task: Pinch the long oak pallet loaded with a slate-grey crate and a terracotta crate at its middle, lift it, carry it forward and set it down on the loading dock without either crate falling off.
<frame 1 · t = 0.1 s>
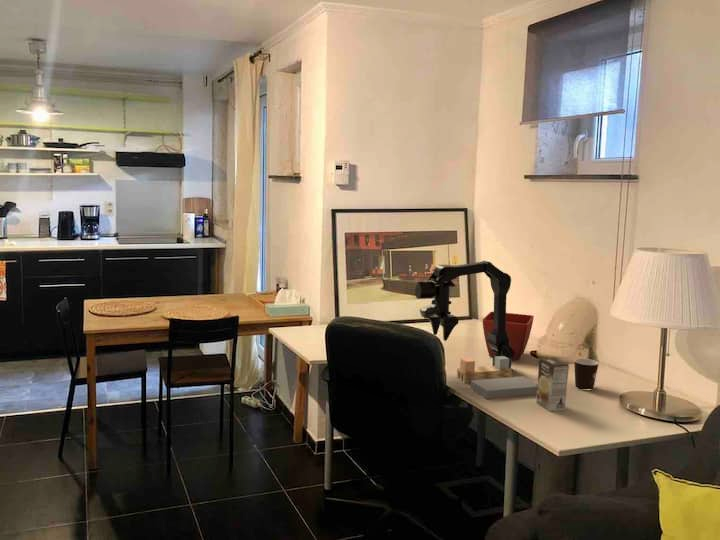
hand: (440, 337, 265), 15 cm above the table, tool pointing down, fingers open, 9 cm apart
plant pot: (506, 355, 298), on the table
coffee mug: (587, 387, 256), on the table
coffee box: (550, 407, 234), on the table
dock: (505, 391, 248), on the table
pallet: (483, 379, 263), on the table, touching grey crate, terracotta crate
terracotta crate: (467, 370, 260), point 4 cm above the table, touching pallet
grey crate: (501, 367, 265), point 4 cm above the table, touching pallet
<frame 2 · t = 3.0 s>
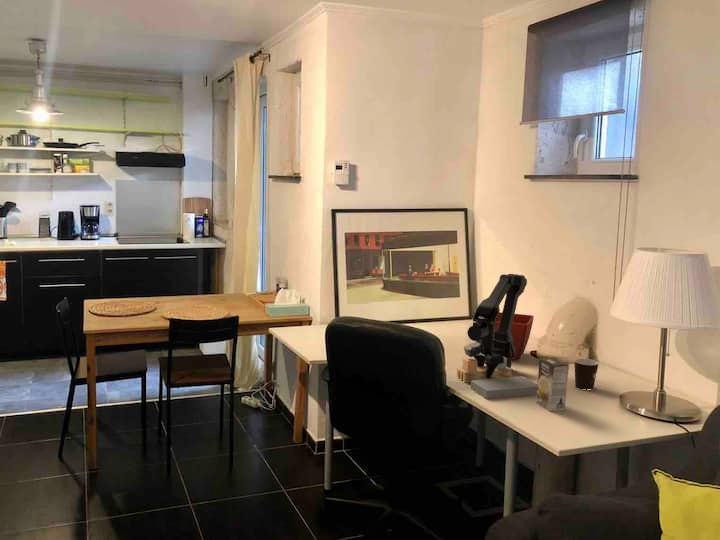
hand: (484, 375, 263), 1 cm above the table, tool pointing down, fingers closed on pallet, 6 cm apart
pallet: (483, 378, 263), on the table, touching grey crate, gripper, terracotta crate
terracotta crate: (469, 369, 261), point 4 cm above the table, touching pallet
grey crate: (499, 367, 265), point 4 cm above the table, touching pallet
everything else where it was.
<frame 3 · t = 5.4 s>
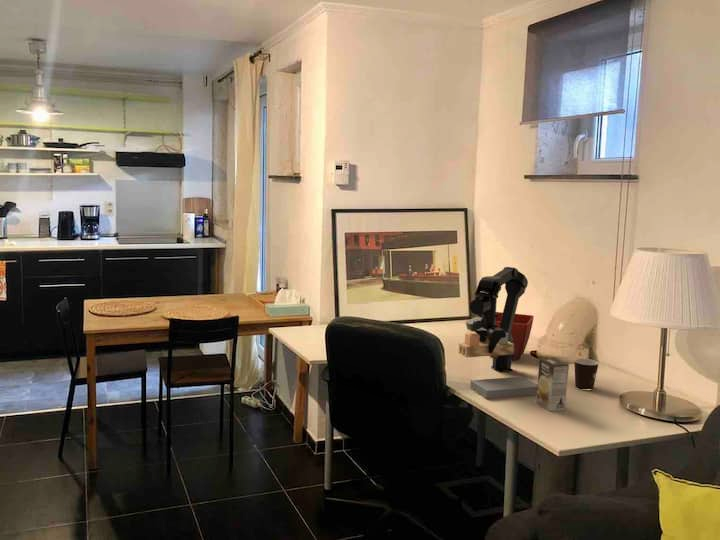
hand: (486, 350, 261), 11 cm above the table, tool pointing down, fingers closed on pallet, 6 cm apart
pallet: (485, 353, 261), point 10 cm above the table, touching grey crate, gripper, terracotta crate
terracotta crate: (471, 344, 259), point 14 cm above the table, touching pallet
grey crate: (500, 342, 263), point 14 cm above the table, touching pallet
everything else where it was.
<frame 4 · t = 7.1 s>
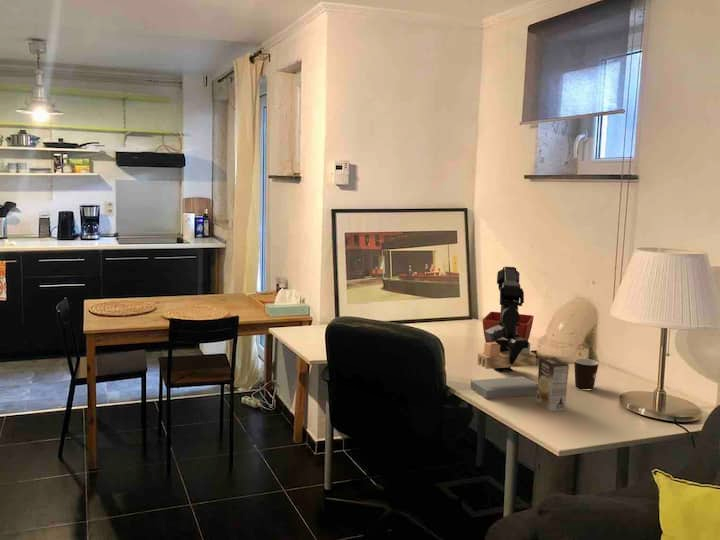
hand: (506, 361, 247), 11 cm above the table, tool pointing down, fingers closed on pallet, 6 cm apart
pallet: (506, 364, 247), point 10 cm above the table, touching grey crate, gripper, terracotta crate
terracotta crate: (491, 354, 244), point 14 cm above the table, touching pallet
grey crate: (521, 352, 248), point 14 cm above the table, touching pallet
everything else where it was.
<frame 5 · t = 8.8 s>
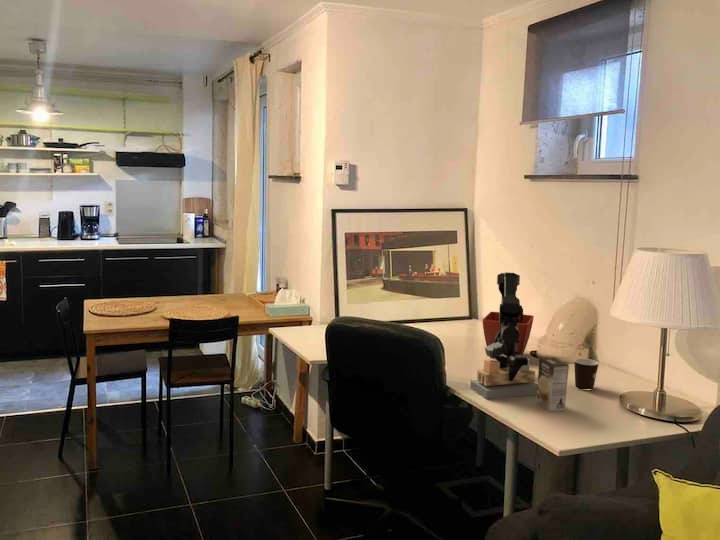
hand: (506, 378, 248), 5 cm above the table, tool pointing down, fingers closed on pallet, 6 cm apart
pallet: (505, 381, 248), point 4 cm above the table, touching grey crate, gripper, terracotta crate
terracotta crate: (491, 371, 245), point 8 cm above the table, touching pallet
grey crate: (521, 369, 249), point 8 cm above the table, touching pallet
everything else where it was.
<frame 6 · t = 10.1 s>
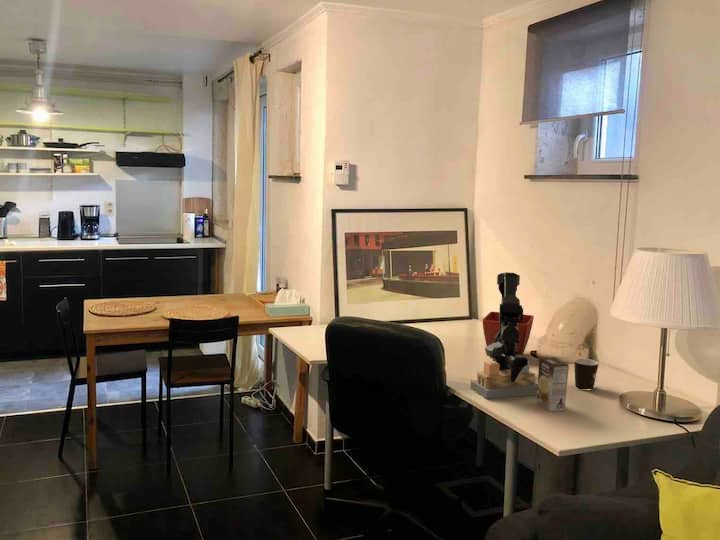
hand: (506, 378, 247), 5 cm above the table, tool pointing down, fingers open, 9 cm apart
pallet: (505, 383, 248), point 3 cm above the table, touching dock, grey crate, terracotta crate
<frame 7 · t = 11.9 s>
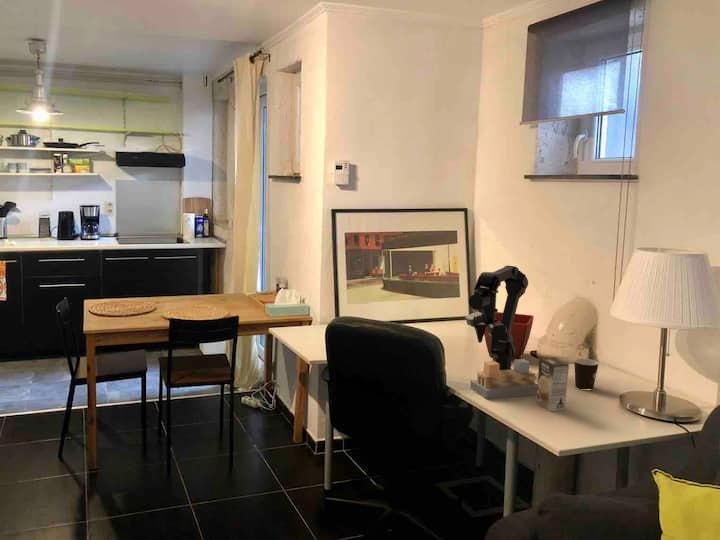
hand: (485, 345, 262), 13 cm above the table, tool pointing down, fingers open, 9 cm apart
nothing on the table moved.
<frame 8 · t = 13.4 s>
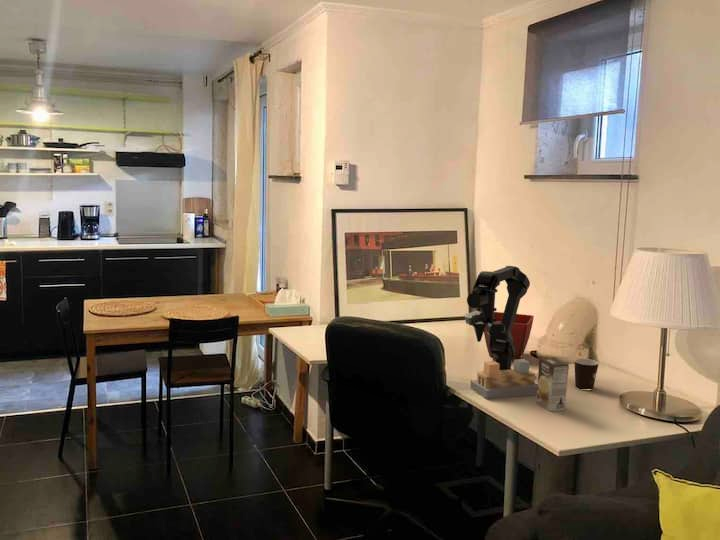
hand: (484, 344, 262), 13 cm above the table, tool pointing down, fingers open, 9 cm apart
nothing on the table moved.
at the end: pallet inside the target area on the dock (0.1 cm from its centre), point 3.0 cm above the dock's base; grey crate inside the target area on the pallet (6.1 cm from its centre), point 4.0 cm above the pallet's base; terracotta crate inside the target area on the pallet (6.1 cm from its centre), point 4.0 cm above the pallet's base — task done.
